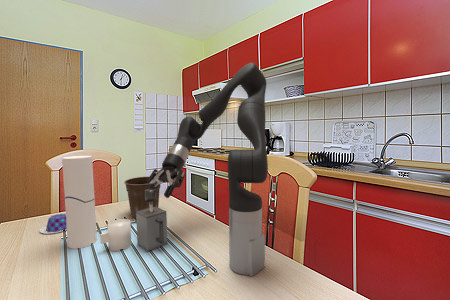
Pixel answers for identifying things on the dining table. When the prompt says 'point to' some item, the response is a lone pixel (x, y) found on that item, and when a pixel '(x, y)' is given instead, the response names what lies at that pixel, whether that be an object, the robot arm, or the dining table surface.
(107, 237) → the mug
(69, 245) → the container
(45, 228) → the purple hat
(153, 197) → the plunger
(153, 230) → the box with side grip
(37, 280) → the dining table surface
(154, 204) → the plant pot
